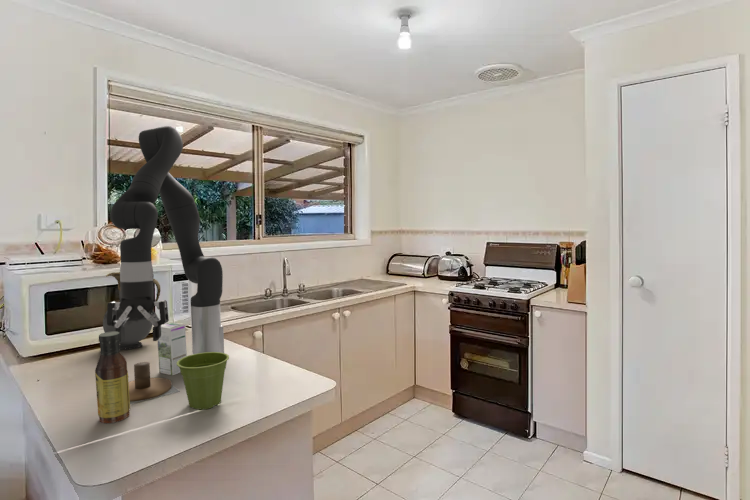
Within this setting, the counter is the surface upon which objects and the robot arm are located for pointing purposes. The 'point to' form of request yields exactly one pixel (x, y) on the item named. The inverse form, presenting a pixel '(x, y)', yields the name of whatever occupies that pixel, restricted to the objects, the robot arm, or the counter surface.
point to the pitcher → (131, 322)
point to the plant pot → (203, 378)
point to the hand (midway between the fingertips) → (139, 340)
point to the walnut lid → (146, 384)
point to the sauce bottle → (112, 380)
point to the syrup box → (171, 347)
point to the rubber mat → (172, 390)
